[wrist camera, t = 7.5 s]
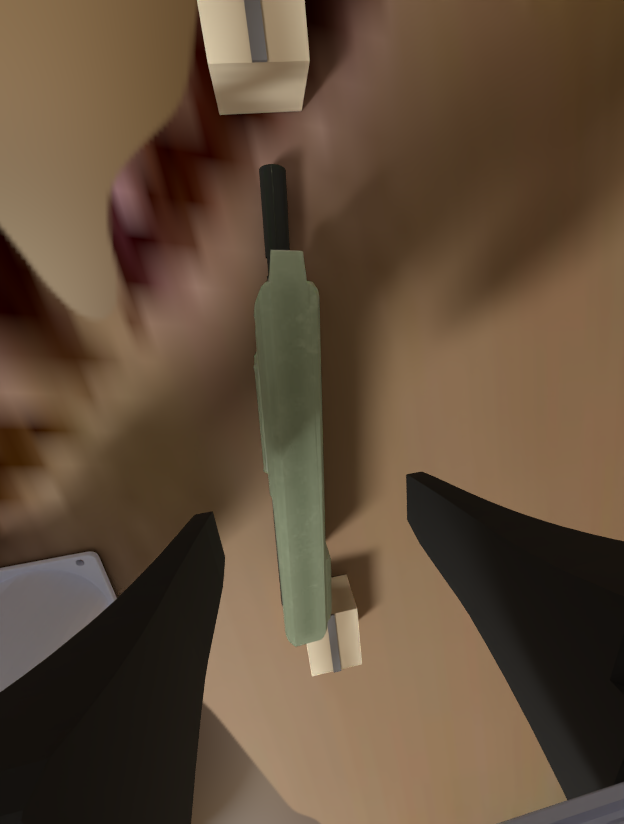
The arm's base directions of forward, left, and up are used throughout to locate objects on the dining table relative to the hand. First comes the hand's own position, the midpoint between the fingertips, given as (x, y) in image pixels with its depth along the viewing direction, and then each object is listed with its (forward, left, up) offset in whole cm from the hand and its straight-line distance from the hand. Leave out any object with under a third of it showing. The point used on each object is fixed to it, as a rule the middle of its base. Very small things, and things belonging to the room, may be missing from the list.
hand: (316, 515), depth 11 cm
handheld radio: (0, +1, -10) cm, 10 cm away
